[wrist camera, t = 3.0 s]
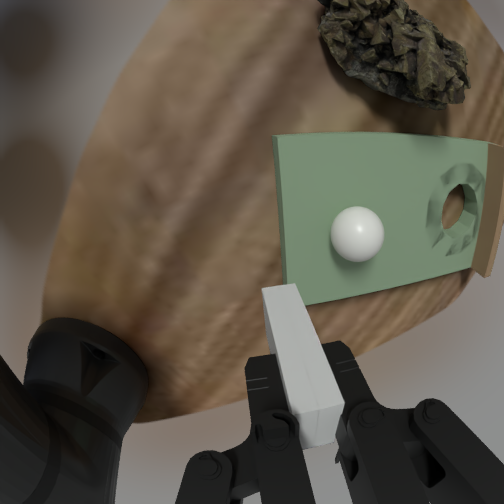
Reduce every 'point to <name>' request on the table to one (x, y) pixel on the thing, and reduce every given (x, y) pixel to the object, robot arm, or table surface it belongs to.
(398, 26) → the rock
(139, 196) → the table surface
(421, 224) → the green
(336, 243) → the ball
